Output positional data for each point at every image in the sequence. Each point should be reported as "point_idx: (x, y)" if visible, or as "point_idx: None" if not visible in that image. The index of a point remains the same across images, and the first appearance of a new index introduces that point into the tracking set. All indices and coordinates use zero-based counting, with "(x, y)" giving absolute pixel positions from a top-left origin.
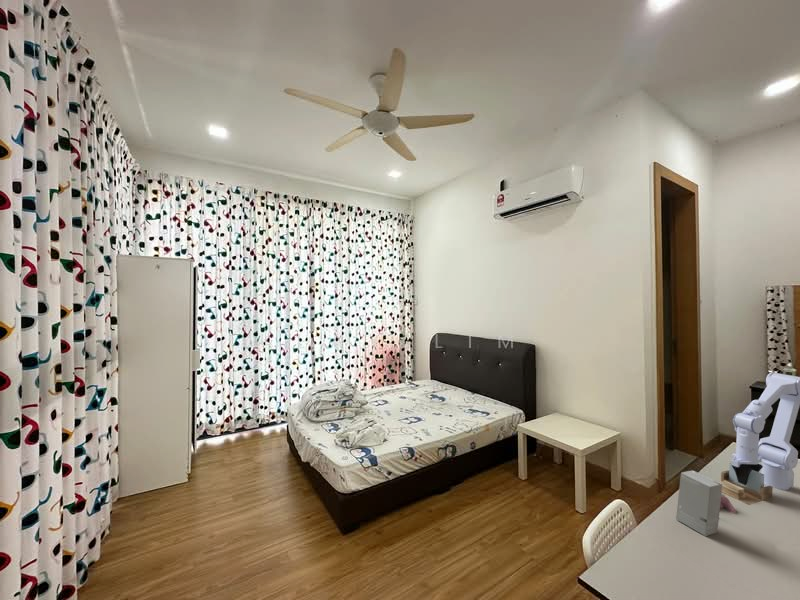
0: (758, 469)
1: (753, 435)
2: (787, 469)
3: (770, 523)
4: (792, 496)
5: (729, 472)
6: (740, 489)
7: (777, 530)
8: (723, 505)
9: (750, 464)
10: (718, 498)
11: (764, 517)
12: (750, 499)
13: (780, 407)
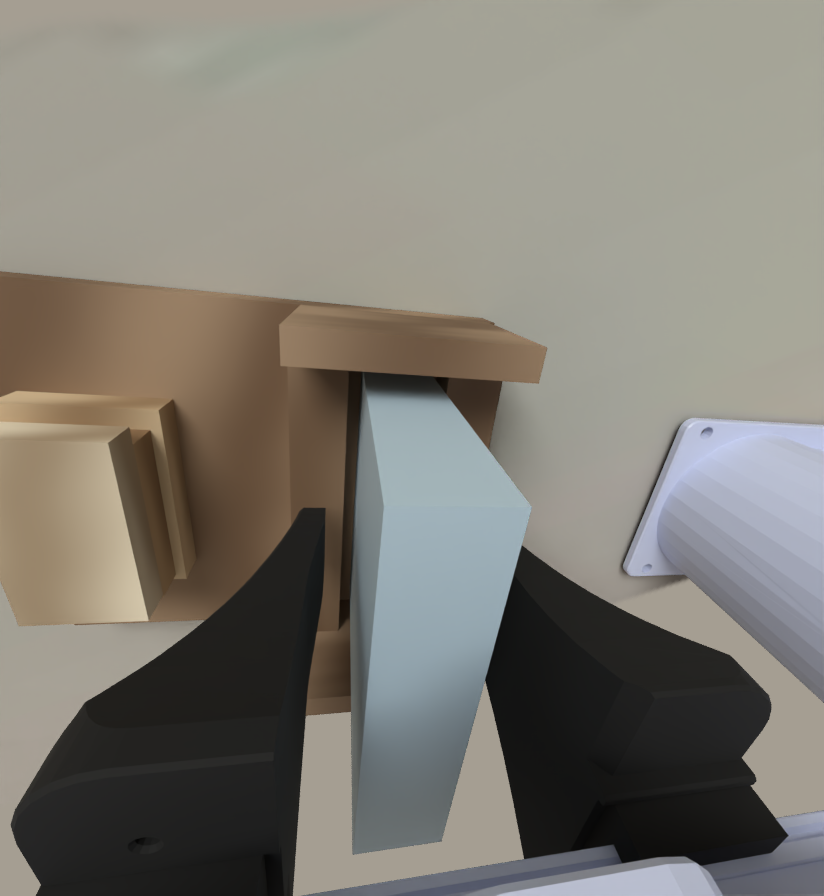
0: (520, 815)
1: None
2: None
3: (48, 717)
4: (648, 589)
5: (367, 414)
6: (76, 621)
7: (6, 756)
8: None
9: (566, 800)
10: None
11: (89, 678)
12: (205, 587)
13: None
